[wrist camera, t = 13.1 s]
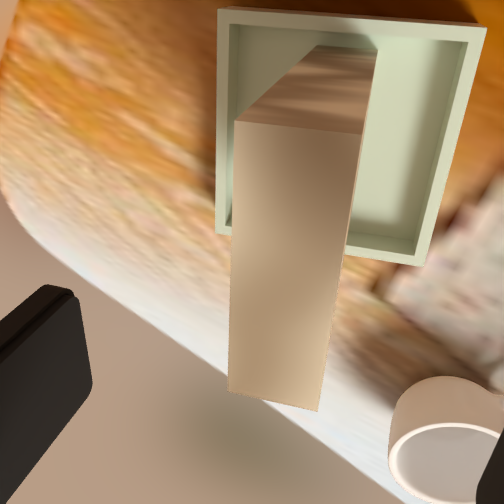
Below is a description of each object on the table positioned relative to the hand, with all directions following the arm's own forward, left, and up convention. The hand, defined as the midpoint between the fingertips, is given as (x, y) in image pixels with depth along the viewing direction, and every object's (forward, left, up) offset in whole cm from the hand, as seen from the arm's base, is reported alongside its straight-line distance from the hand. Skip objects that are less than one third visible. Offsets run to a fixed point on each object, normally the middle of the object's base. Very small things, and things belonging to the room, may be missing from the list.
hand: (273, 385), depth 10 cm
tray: (+1, 0, -19) cm, 19 cm away
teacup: (-10, +17, -20) cm, 28 cm away
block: (+1, 0, -19) cm, 19 cm away
